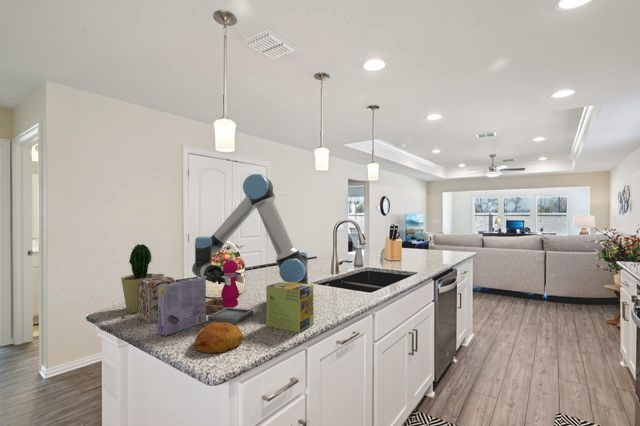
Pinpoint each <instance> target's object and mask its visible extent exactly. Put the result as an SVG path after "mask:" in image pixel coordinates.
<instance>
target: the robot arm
mask: <svg viewBox="0 0 640 426" xmlns="http://www.w3.org/2000/svg"><path fill="white" fill-rule="evenodd" d="M242 190H243V192H244V194H245V198H244V199H243V200H242V201H241V202H240V203H239V204H238V206H237V207H235V209H234V210H232V212H231V214H229V216H228V217H227V218H226V219H225V220H224V221H223V222H222V224H221V225H220V226H219V227H218V228H217V229H216V230H215V232H214V233H213V234H212V235H211V236H197V237H196V238H195V240H194V263H193V265H192V267H191V271H192V274H193V275H194V276H196V277H197V278H205V279H206V281H208V282H210V283H213V284H216V283H217V284H218V285H221V284H223V285H224V284H227V285H231V278H229V277H226V276H224V273H225V272H224V270H223V267H221V266H220V265H217V264H214V263H212V262H213V260H212V259H213V254H217V253H219V252H220V251H221V250H222V249H223V247H224V245H225V244H226V243H227V241H229V240H230V238H231V237H232V236H233V235H234V234H235V233H236V231H238V229H239V228H240V227H241V226H242V225H243V224H244V223H245V222H246V220H247V219H248V218H249V217H250V215H251V214H253V212H254V211H255V210H257V212H258V214H259V217H260V219H261V222H262V223H263V226H264V228H265V230H266V233H267V236H268V238H269V240H270V241H271V244H272V246H273V249H274V252H275V253H276V258H275V262H276V265H277V267H278V270H279V271H278V272H279V276H280V278H281V280H282V281H283V282H292V283H302V284H309V280H308V275H309V273H308V271H309V270H308V269H309V267H308V264H309V263H308V259H309V256H308V253H307V252H306V251H304V252H303V251H302V252H301V251H299V249H298V248H295V247H294V245H293V243H292V240H291V238H290V236H289V233H288V231H287V229H286V227H285V224H284V222H283V220H282V217H281V215H280V213H279V210H278V208H277V206H276V203H275V200H276V195H275V193H274V186H273V183H272V181H271V180H270V179H269V178H268V177H266V176H264V175H263V174H261V173H253V174H250V175H248V176H247V177H246V178H245V179H244V181H243V184H242ZM218 251H219V252H218ZM244 280H245V279H244V276H243V275H242V273H241V272H238V271H236V276H235V282H237V283H240V284H244Z"/></svg>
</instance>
